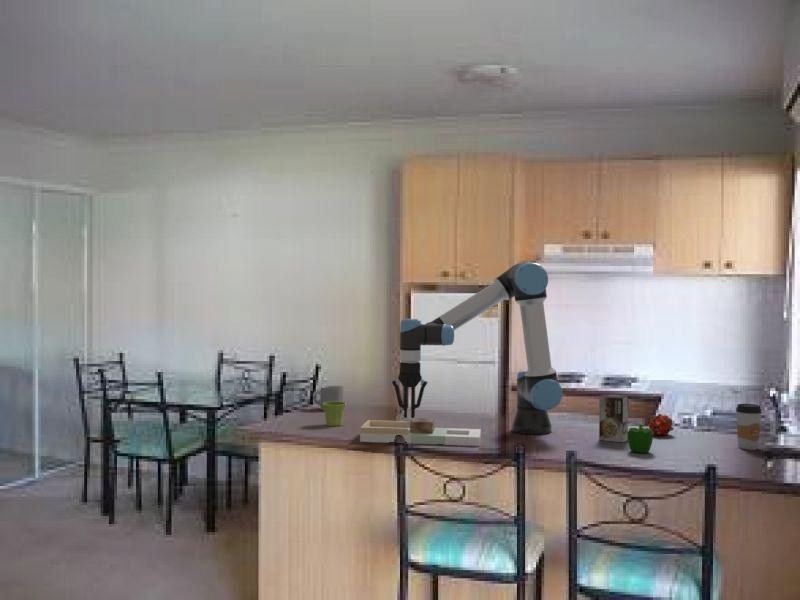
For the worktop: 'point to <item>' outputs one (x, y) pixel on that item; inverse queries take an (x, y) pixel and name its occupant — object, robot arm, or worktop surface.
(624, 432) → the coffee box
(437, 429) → the deck
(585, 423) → the worktop surface
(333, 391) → the coffee mug
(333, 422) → the plant pot
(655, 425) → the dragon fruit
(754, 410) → the coffee cup
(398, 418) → the game die
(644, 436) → the bell pepper
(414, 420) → the walnut block
